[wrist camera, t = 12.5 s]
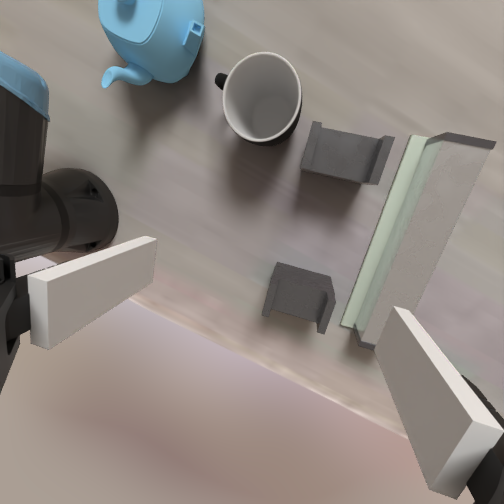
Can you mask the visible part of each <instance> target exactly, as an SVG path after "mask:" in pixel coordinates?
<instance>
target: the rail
mask: <svg viewBox="0 0 504 504" xmlns="http://www.w3.org/2000/svg"><path fill="white" fill-rule="evenodd" d="M495 144H496V141H490V140H485V139H480V138H475V137H470V136H465V135H459V134H454V133H449V132H446V133H443V134H440V135H438V136H435V137H432V138H429V139H427V141H426V143H425V148H424V150H423V153H422V155H421V158H420V161H419V163H418V166H417V168H416V171H415V173H414V176H413V178H412V181H411V183H410V186H409V188H408V191H407V193H406V196H405V198H404V201H403V203H402V206H401V208H400V211H399V214H398V216H397V219H396V221H395V224H394V226H393V229H392V231H391V234H390V236H389V239H388V241H387V244H386V246H385V249H384V251H383V254H382V256H381V259H380V261H379V264H378V267H377V269H376V272H375V274H374V277H373V279H372V282H371V284H370V287H369V289H368V292H367V294H366V297H365V299H364V302H363V304H362V307H361V309H360V312H359V314H358V317H357V319H356V322H355V323H354V325H353V330H354V333H355V336H356V339H357V342H358V345H359V346H360V347H364V348H367V349H370V350H373V351H374V349H375V347H376V344H377V342H378V340H379V337H380V335H381V333H382V331H383V328H384V326H385V324H386V321H387V319H388V317H389V314H390V312H391V310H392V308H393V306H396V307H399V308H403V309H406V310H409V311H410V312H411V313H412V315H413V314H414V312H415V310H416V307H417V305H418V303H419V301H420V299H421V297H422V295H423V293H424V290H425V288H426V286H427V284H428V282H429V280H430V278H431V275H432V273H433V271H434V269H435V267H436V265H437V263H438V261H439V258H440V256H441V254H442V252H443V250H444V248H445V246H446V244H447V241H448V239H449V237H450V235H451V233H452V231H453V229H454V227H455V224H456V222H457V220H458V218H459V216H460V214H461V212H462V210H463V207H464V205H465V203H466V201H467V199H468V197H469V195H470V193H471V190H472V188H473V186H474V184H475V182H476V180H477V178H478V176H479V173H480V171H481V169H482V167H483V165H484V163H485V161H486V158H487V156H488V154H489V152H490V150H491V149H493V148H494V146H495Z"/></svg>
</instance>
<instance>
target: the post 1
mask: <svg viewBox="0 0 504 504" xmlns="http://www.w3.org/2000/svg"><path fill="white" fill-rule="evenodd" d="M334 295H335V293H334V289H333V285H332V281H331V277H330V276H326V275H323V274H319V273H315V272H312V271H308V270H305V269H301V268H297V267H294V266H290V265H287V264H283V263H279V262H277V264H276V266H275V269H274V272H273V275H272V278H271V281H270V285H269V289H268V293H267V297H266V300H265V304H264V308H263V312H262V315H263V316H266V317H269V314H270V311H271V309H273V310H276V311H280V312H283V313H286V314H290V315H293V316H296V317H299V318H303V319H306V320H309V321H313V322H316V323H317V332H318V333H321V334H325V331H326V329H327V326H328V323H329V320H330V317H331V315H332V312H333V309H334V306H335V303H336V300H335V296H334Z"/></svg>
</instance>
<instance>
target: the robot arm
mask: <svg viewBox="0 0 504 504" xmlns="http://www.w3.org/2000/svg"><path fill="white" fill-rule="evenodd" d="M48 106H49V90H48V86H47V84H46V82H45V81H44V79H43V78H42V77H41V76H40V75H39V74H38V73H37V72H35V71H34V70H32V69H31V68H29V67H27V66H26V65H24V64H22V63H21V62H19V61H17V60H15V59H14V58H12V57H10V56H8V55H6V54H5V53H3V52H1V51H0V393H1V391H2V388H3V386H4V383H5V380H6V378H7V375H8V373H9V370H10V368H11V365H12V363H13V360H14V358H15V355H16V352H17V350H18V348H19V345H20V335H21V334H22V333H25V332H27V331H28V330H30V335H31V344H34V345H36V346H39V347H42V348H45V349H47V350H49V349H51V348H53V347H54V346H56V345H57V344H59V343H60V342H62V341H63V340H65V339H66V338H68V337H69V336H71V335H73V334H74V333H75V332H77V331H79V330H80V329H82V328H83V327H85V326H86V325H88V324H89V323H91V322H92V321H94V320H96V319H97V318H99V317H100V316H102V315H103V314H105V313H106V312H108V311H109V310H111V309H112V308H114V307H115V306H117V305H118V304H120V303H122V302H123V301H124V300H126V299H128V298H129V297H131V296H132V295H134V294H135V293H137V292H138V291H140V290H141V289H143V288H145V287H146V286H148V285H149V284H151V283H152V282H153V273H154V264H155V255H156V246H157V239H155V238H151V237H148V236H143V237H140V238H137V239H134V240H131V241H128V242H125V243H122V244H119V245H116V246H113V247H110V248H107V249H104V250H101V251H98V252H95V253H92V254H89V255H86V256H83V257H80V258H77V259H74V260H71V261H66V262H63V263H60V264H57V265H56V266H52V267H48V268H47V269H42V270H40V271H36V272H33V273H30V274H28V275H24V276H21V277H18V278H16V273H15V262H19V261H22V260H26V259H29V258H33V257H36V256H40V255H44V254H47V253H51V252H54V251H60V252H79V253H83V252H90V251H93V250H97V249H100V248H102V247H104V246H106V245H107V244H108V243H109V242H110V241H111V240H112V238H113V237H114V235H115V233H116V230H117V226H118V210H117V205H116V202H115V199H114V197H113V195H112V193H111V191H110V190H109V188H108V187H107V186H106V184H105V183H104V182H103V181H102V180H101V179H100V178H98V177H97V176H96V175H94V174H93V173H91V172H89V171H86V170H83V169H74V168H62V169H57V170H54V171H51V172H48V173H45V174H43V165H44V155H45V146H46V137H47V128H48V122H50V117H49V115H48ZM42 174H43V175H42ZM374 352H375V354H376V357H377V360H378V362H379V365H380V367H381V370H382V372H383V375H384V377H385V380H386V382H387V385H388V387H389V390H390V392H391V395H392V397H393V400H394V402H395V405H396V407H397V410H398V413H399V415H400V418H401V420H402V423H403V425H404V428H405V430H406V433H407V435H408V438H409V440H410V443H411V445H412V448H413V450H414V453H415V455H416V458H417V460H418V463H419V466H420V468H421V470H422V473H423V475H424V478H425V481H426V483H427V485H428V488H429V490H432V491H435V492H437V493H440V494H443V495H445V496H448V497H451V498H454V499H456V500H457V498H458V497H459V495H460V494H461V493H462V491H463V490H464V488H465V487H466V485H467V487H468V488H469V490H470V492H471V494H472V496H473V498H474V500H475V502H474V503H473V504H504V419H503V418H502V417H501V416H500V414H499V413H498V412H496V411H495V410H496V409H495V408H494V407H493V406H492V405H491V403H490V402H488V401H487V399H486V397H485V396H484V395H483V394H482V393H481V391H480V390H479V389H478V388H477V387H476V386H475V385H474V384H473V383H471V382H470V381H469V380H468V379H467V378H466V377H464V376H463V375H460V374H459V373H458V371H457V370H456V369H455V368H454V366H453V365H452V364H451V363H450V361H449V360H448V359H447V358H446V356H445V355H444V354H443V353H442V351H441V350H440V349H439V347H438V346H437V345H436V344H435V342H434V341H433V340H432V339H431V337H430V336H429V335H428V334H427V332H426V331H425V330H424V329H423V327H422V326H421V325H420V323H419V322H418V321H417V320H416V318H415V317H414V316H413V315H412V313H411V312H410V311H409V310H406V309H403V308H399V307H396V306H393V308H392V310H391V312H390V314H389V317H388V319H387V321H386V324H385V326H384V328H383V331H382V333H381V335H380V337H379V340H378V342H377V344H376V347H375V349H374Z"/></svg>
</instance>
